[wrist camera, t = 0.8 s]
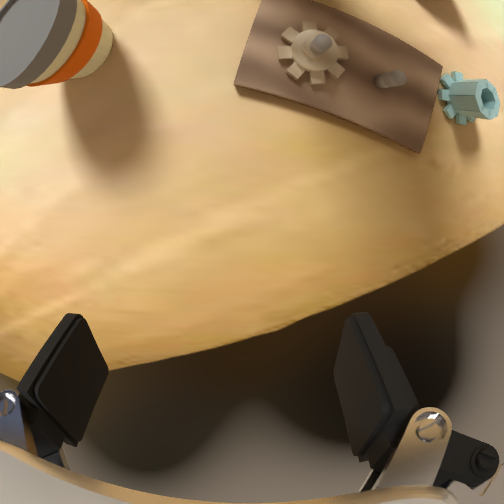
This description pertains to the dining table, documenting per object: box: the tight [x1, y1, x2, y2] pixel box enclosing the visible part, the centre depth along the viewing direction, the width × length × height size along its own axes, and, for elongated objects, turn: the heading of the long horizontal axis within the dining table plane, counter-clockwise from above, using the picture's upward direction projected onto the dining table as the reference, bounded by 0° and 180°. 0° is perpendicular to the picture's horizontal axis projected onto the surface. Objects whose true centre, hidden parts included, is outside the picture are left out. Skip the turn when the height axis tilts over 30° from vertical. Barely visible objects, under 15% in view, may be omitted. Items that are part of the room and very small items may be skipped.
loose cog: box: [438, 71, 500, 125], centre depth 25 cm, size 8×8×7 cm
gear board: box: [234, 0, 443, 153], centre depth 25 cm, size 14×25×7 cm, turn 74°
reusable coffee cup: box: [0, 0, 113, 89], centre depth 19 cm, size 13×12×15 cm
